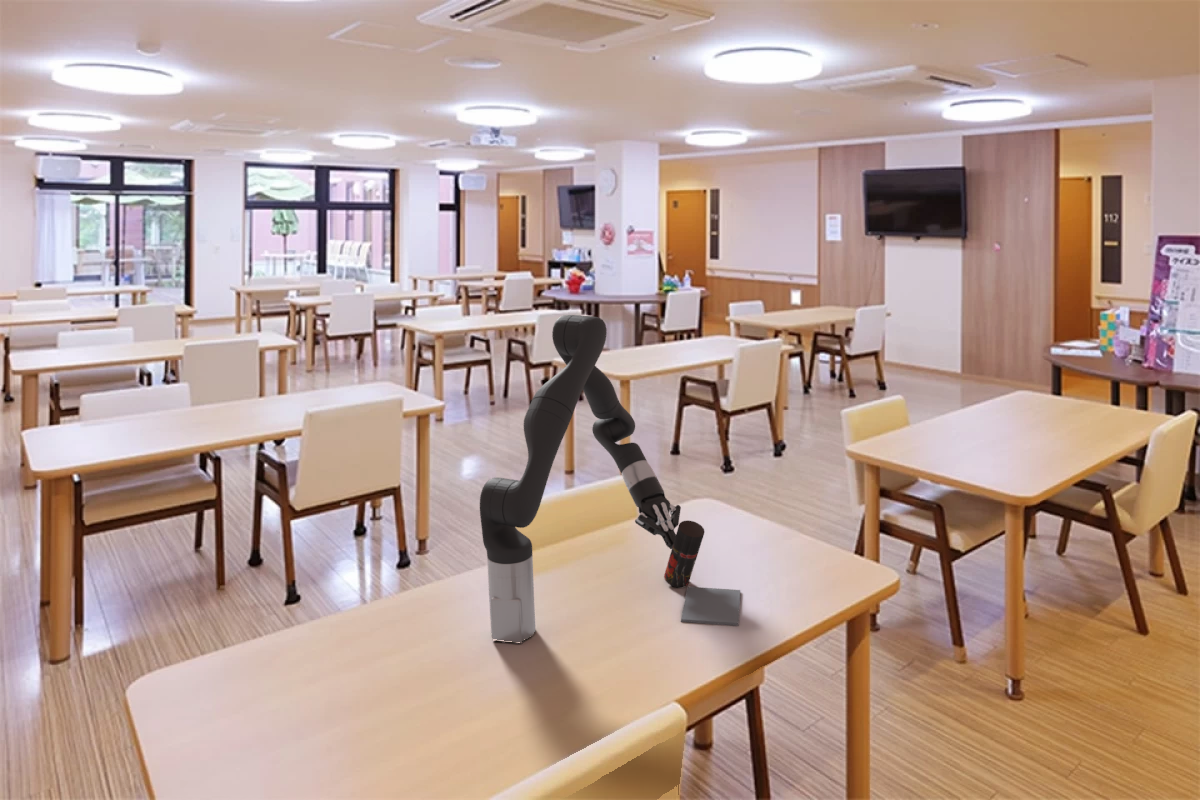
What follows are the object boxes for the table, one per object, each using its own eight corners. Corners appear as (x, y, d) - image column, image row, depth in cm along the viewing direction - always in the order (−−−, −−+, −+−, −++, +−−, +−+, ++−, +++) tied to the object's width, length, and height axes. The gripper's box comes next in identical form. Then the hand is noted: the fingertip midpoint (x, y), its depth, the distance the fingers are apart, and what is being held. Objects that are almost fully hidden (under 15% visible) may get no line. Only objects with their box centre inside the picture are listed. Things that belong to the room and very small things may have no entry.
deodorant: (689, 589, 193) (705, 539, 186) (664, 585, 193) (679, 534, 186) (688, 572, 199) (703, 523, 191) (663, 568, 198) (678, 518, 191)
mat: (738, 625, 175) (738, 623, 175) (681, 621, 177) (681, 619, 177) (740, 592, 190) (740, 589, 190) (687, 589, 193) (687, 586, 193)
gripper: (626, 481, 195) (659, 546, 188) (670, 470, 203) (704, 533, 195) (613, 496, 201) (645, 560, 194) (657, 486, 208) (689, 547, 201)
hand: (674, 546), depth 195 cm, fingers closed
